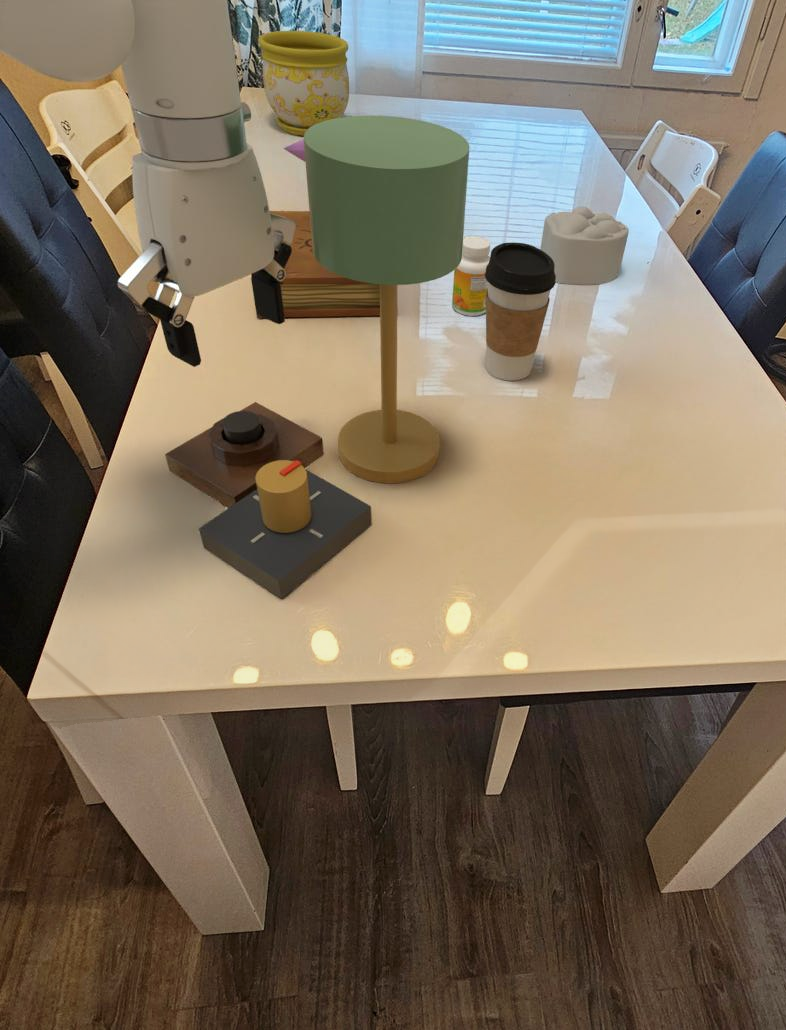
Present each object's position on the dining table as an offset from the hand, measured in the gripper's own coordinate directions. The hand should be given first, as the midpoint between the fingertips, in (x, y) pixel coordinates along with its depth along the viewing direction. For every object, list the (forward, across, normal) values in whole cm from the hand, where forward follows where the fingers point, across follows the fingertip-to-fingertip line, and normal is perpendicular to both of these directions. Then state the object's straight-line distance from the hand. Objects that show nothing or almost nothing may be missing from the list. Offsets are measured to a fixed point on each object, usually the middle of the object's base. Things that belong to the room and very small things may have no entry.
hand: (230, 338), depth 64 cm
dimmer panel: (+15, +5, +10) cm, 19 cm away
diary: (+15, -36, -24) cm, 46 cm away
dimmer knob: (+12, +5, +10) cm, 17 cm away
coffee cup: (+15, -34, +10) cm, 39 cm away
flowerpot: (+15, -86, -76) cm, 116 cm away
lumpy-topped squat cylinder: (+15, -67, +3) cm, 69 cm away
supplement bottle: (+15, -44, -3) cm, 46 cm away
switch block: (+15, 0, -1) cm, 15 cm away
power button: (+11, 0, -1) cm, 11 cm away
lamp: (+15, -11, +9) cm, 21 cm away
